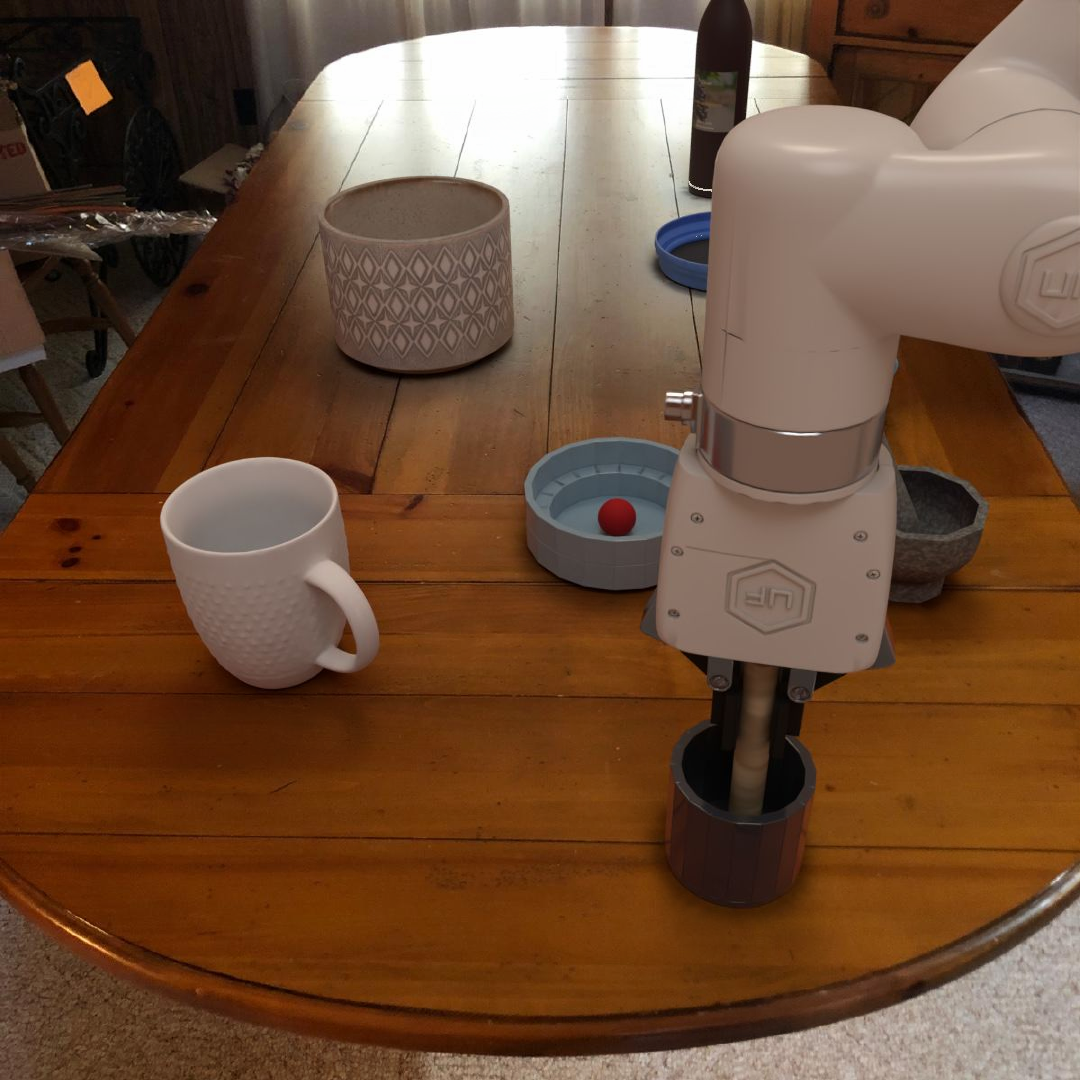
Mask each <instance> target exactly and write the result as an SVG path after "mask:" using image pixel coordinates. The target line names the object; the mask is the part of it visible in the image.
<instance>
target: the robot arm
mask: <svg viewBox="0 0 1080 1080" xmlns="http://www.w3.org/2000/svg"><path fill="white" fill-rule="evenodd" d="M710 211H711V223H710V241H709V259H708V277H707V291H706V298H705V314H704V315H705V316H704V328H703V329H704V330H703V344H702V345H703V346H702V361H701V362H702V363H701V364H702V366H701V377H700V378H701V379H700V380H696V381H695V384H694V387H685V388H684V390H683V389H672V388H671V389H669V388H668V389H666V390H667V391H666V395H665V401H664V413H663V418H664V421H669V422H679V423H681V426H686V427H687V426H688V427H690V433H689V434H688V435H687V436H686V438H685V440H684V443H683V445H682V447H681V448H680V450H679V451H680V453H679V456H678V459H677V462H676V465H675V469H674V472H673V476H672V480H671V485H670V489H669V494H668V500H667V505H666V512H665V519H664V527H663V535H662V544H661V553H660V563H659V574H658V585H656V587H655V589H654V591H653V592H652V594H651V596H650V598H649V599H648V601H647V603H646V605H645V606H644V608H643V611H642V615H641V620H640V623H639V630H640V632H641V633H642V634H644V635H645V636H647V637H649V638H652V639H654V640H657V641H659V642H660V643H663V644H666V645H667V646H669V647H671V648H673V649H676V650H678V651H679V652H680V653H681V654H682V655H683V656H684V657H686V659H687V660H689V661H690V663H692V664H693V665H694V666H695V667H696V668H698V670H700V671H701V673H703V674H704V676H706V684H707V686H708V687H709V689H711V690H712V696H711V708H710V718H709V719H710V724H717V725H723V734H722V744H721V750H727V751H731V748H732V749H735V748H736V741H737V733H738V724H739V714H740V704H741V695H742V685H743V683H742V670H743V661H745V662H753V663H760V664H767V665H774V666H781V667H780V675H779V683H778V686H777V689H776V697H775V704H774V712H773V720H772V728H771V736H770V744H769V754H770V755H772V758H778V759H782V758H783V751H784V744H785V736H786V735H790V736H796V737H797V738H799V737H800V735H801V729H802V723H803V716H804V709H805V704H806V703H808V702H811V700H812V699H813V696H814V692H815V691H817V690H820V689H821V688H824V687H825V686H827V685H830V684H831V683H833V682H835V681H837V680H839V679H841V678H843V677H845V676H846V675H848V674H853V673H857V672H858V673H859V672H865V671H873V670H880V669H888V668H890V667H893V666H894V665H895V663H896V662H897V657H896V656H897V651H896V650H897V649H896V639H895V636H894V633H893V630H892V626H891V623H890V620H889V618H888V614H887V611H888V604H889V600H888V598H889V591H890V583H891V575H892V567H893V558H894V549H895V537H896V524H897V491H896V478H895V470H894V467H893V461H892V457H891V455H890V453H889V451H888V450H887V448H886V447H885V446H884V445H883V444H882V438H883V432H884V433H885V425H886V422H887V421H886V420H887V414H888V409H889V404H890V396H891V391H892V386H893V380H894V375H895V374H894V369H895V363H896V358H897V356H898V351H899V346H900V345H899V344H900V340H901V336H905V337H910V338H915V339H921V340H927V341H932V342H938V343H942V344H947V345H952V346H957V347H962V348H966V349H971V350H976V351H980V352H981V351H982V352H987V353H992V354H998V355H1006V356H1007V355H1008V356H1014V357H1024V358H1025V357H1027V358H1049V357H1050V358H1051V357H1061V356H1067V355H1073V354H1079V353H1080V0H1022V1H1021V2H1020V3H1019V4H1018V5H1017V6H1016V7H1015V8H1014V9H1013V10H1011V12H1010V13H1009V14H1008V15H1007V16H1005V18H1004V19H1003V20H1002V21H1000V23H999V24H997V26H995V27H994V28H993V29H992V30H991V31H990V32H989V34H987V35H986V36H985V37H984V38H983V39H981V41H980V42H979V43H978V44H977V45H976V46H975V47H974V48H973V49H972V50H971V51H970V52H969V53H968V54H967V55H966V56H965V57H964V58H963V59H961V60H960V62H959V63H958V64H957V65H956V66H955V67H953V69H952V70H951V71H950V72H949V73H948V74H947V75H946V76H945V78H943V80H942V81H941V82H940V83H939V84H938V85H937V87H936V88H935V89H934V90H933V91H932V93H931V94H930V95H929V96H928V98H927V99H926V100H925V102H924V103H923V104H922V106H921V107H920V109H919V111H918V112H917V113H916V115H915V117H914V119H913V120H912V122H911V123H910V125H907V124H906V123H905V122H903V121H901V120H900V119H898V118H896V117H893V116H890V115H887V114H884V113H881V112H879V111H875V110H870V109H866V108H861V107H855V106H846V105H833V104H804V105H792V106H785V107H784V106H783V107H779V108H774V109H773V108H772V109H770V110H767V111H763V112H759V113H757V114H754V115H751V116H748V117H746V119H745V120H743V121H742V122H741V123H739V124H738V125H736V126H735V127H734V128H733V129H732V130H731V131H730V132H729V133H728V134H727V136H726V137H725V138H724V140H723V142H722V144H721V146H720V149H719V151H718V153H717V157H716V160H715V168H714V177H713V187H712V198H711V206H710ZM893 374H894V375H893Z"/></svg>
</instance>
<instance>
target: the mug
mask: <svg viewBox="0 0 1080 1080" xmlns="http://www.w3.org/2000/svg"><path fill="white" fill-rule="evenodd" d="M340 503H341V502H340V497H339V492H338V489H337V486H336V484H335V482H334V481H333V479H332V478H331V477H330V476H329V474H327V473H326V472H325V471H323V470H322V469H320V468H319V467H317V466H315V465H312V464H309V463H307V462H304V461H300V460H296V459H293V458H292V459H291V458H283V457H276V456H275V457H273V456H272V457H271V456H261V457H250V458H242V459H237V460H233V461H232V460H231V461H228V462H225V463H221V464H219V465H215V466H213V467H211V468H207V469H205V470H203V471H201V472H198V473H197V474H195V475H194V476H192V477H190V478H189V479H187V480H185V481H184V482H183V483H181V484H180V485H179V486H178V487H176V489H174V490H173V492H171V494H170V495H169V496H168V498H166V500H165V502H164V504H163V506H162V508H161V511H160V517H159V521H160V522H159V523H160V528H161V533H162V536H163V540H164V543H165V546H166V553H167V555H168V557H169V560H170V566H171V570H172V572H173V574H174V577H175V585H176V586H177V588H178V590H179V592H180V596H181V601H182V602H183V605H184V606H185V608H186V613H187V616H188V617H189V619H190V620H191V622H192V625H193V628H194V629H195V631H196V632H197V634H198V635H199V636H200V639H201V641H202V643H203V644H204V645H205V647H206V649H208V652H209V653H210V654H211V655H212V657H213V658H215V659H216V661H217V663H218V665H220V666H222V667H223V668H224V669H225V671H227V672H228V673H230V674H231V675H233V676H234V677H235V678H237V680H240V681H241V682H243V683H245V684H247V685H250V686H253V687H256V688H260V689H266V690H280V689H286V688H287V689H288V688H291V687H294V686H297V685H301V684H303V683H305V682H307V681H309V680H310V679H312V678H314V677H315V676H317V675H318V674H319V673H320V672H321V671H322V670H323V669H326V670H330V671H332V672H336V673H342V674H352V673H357V672H359V671H361V670H363V669H365V668H367V667H368V666H369V665H370V664H371V663H372V662H373V661H374V660H375V659H376V657H377V655H378V652H379V649H380V633H379V631H380V630H379V627H378V622H377V620H376V617H375V613H374V611H373V609H372V607H371V604H370V602H369V601H368V599H367V598H366V595H365V594H364V592H363V591H362V589H361V588H360V586H359V585H358V584H357V583H356V581H355V579H353V577H351V575H350V574H351V569H350V562H349V561H350V559H349V558H350V557H349V556H350V553H349V549H348V538H347V535H346V531H345V523H344V517H343V514H342V508H341V504H340ZM347 623H348V625H349V627H350V629H351V633H352V636H353V638H354V642H355V646H356V654H352V653H349V652H346V651H344V650H342V649H340V648H338V647H339V644H340V642H341V640H342V638H343V634H344V629H345V628H346V625H347Z"/></svg>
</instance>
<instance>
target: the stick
mask: <svg viewBox="0 0 1080 1080" xmlns="http://www.w3.org/2000/svg"><path fill="white" fill-rule="evenodd" d="M780 667H781V666H774V665H767V664H760V663H753V662H745V661H743V670H742V683H743V685H742V695H741V704H740V714H739V724H738V733H737V741H736V748H735V750H734V760H733V770H732V780H731V790H730V799H729V809H728V812H730V813H733V814H736V815H756V816H760V815H762V808H763V800H764V792H765V784H766V777H767V769H768V761H769V744H770V736H771V728H772V720H773V712H774V704H775V697H776V689H777V686H778V683H779V675H780Z"/></svg>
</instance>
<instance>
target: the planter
mask: <svg viewBox="0 0 1080 1080" xmlns="http://www.w3.org/2000/svg"><path fill="white" fill-rule="evenodd" d="M510 207H511V206H510V200H509V198H508V196H506V194H505V193H503V192H502V191H501V190H500V189H499V188H496V187H494V186H493V185H491V184H488V183H485V182H482V181H479V180H475V179H471V178H463V177H457V176H448V175H409V176H408V175H407V176H398V177H390V178H384V179H378V180H373V181H368V182H364V183H361V184H358V185H354V186H351V187H348V188H345V189H344V190H341V191H339V192H336V193H335V194H334V195H331V196H330V197H329V198H327V199H326V200H325V201H323V203H321V205H320V206H319V208H318V211H317V216H316V217H317V222H318V230H319V236H320V244H321V250H322V257H323V263H324V271H325V278H326V285H327V292H328V298H329V304H330V311H331V318H332V319H331V320H332V325H333V331H334V338H335V342H336V343H335V344H336V345H337V346H338V348H339V349H340V350H341V351H342V352H343V353H344V354H345V355H347V356H348V357H350V358H352V359H354V360H355V361H357V362H360V363H363V364H365V365H369V366H372V367H374V368H376V369H379V370H383V371H386V372H391V373H396V374H405V375H425V374H426V375H428V374H438V373H439V374H440V373H446V372H449V371H455V370H459V369H461V368H464V367H467V366H469V365H472V364H474V363H477V362H478V361H480V360H482V359H483V358H485V357H487V356H489V355H491V354H493V353H494V352H496V351H498V350H499V349H500V348H501V347H503V346H504V345H505V344H506V343H507V342H508V341H509V340H510V338H511V337H512V335H513V333H514V331H515V308H514V306H515V305H514V283H513V259H512V258H513V257H512V256H513V255H512V235H511V234H512V231H511V209H510Z"/></svg>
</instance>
